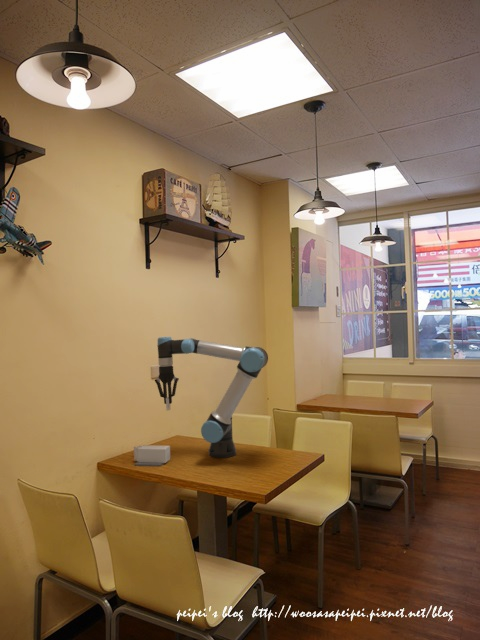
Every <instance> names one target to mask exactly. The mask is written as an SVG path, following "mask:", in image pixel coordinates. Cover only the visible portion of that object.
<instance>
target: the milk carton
mask: <svg viewBox="0 0 480 640" xmlns="http://www.w3.org/2000/svg"><path fill="white" fill-rule="evenodd" d="M170 460H171V445H150V444H149V445H147V444H144V445H143V444H142V445H138V446H133V461H136V462H145V463H164V464H166V463H167V462H169V461H170Z"/></svg>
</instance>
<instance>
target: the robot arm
mask: <svg viewBox="0 0 480 640" xmlns="http://www.w3.org/2000/svg"><path fill="white" fill-rule="evenodd" d="M180 354H181V355H184V354H185V355H187V354H196V355H198V354H200V355H203V356H208V357H215V358H220V359H226V360H232V361H237V362H238V364H237V366H236V369H237V372H236V373H235V375H234V377H233V378H232V380H231V383H230V384H229V385H228V388H227V390H226V391H225V393H224V394H223V397H222V399H221V400H220V402H219V404H218V406H217V407H216V409H215V410H212V411H211V412H210V414H209V416H208V417H207V420H206V421H205V422H203V424H202V426H201V428H200V434H201V436H202V438H203V440H204V441H206V442H207V443H210V445H209V448H208V456H209V457H211V458H214V459H215V458H216V459H224V458H230V457H234V456H236V455H237V448H236V445H235V442H234V439H233V414H234V413H235V411H236V409H237V407H238V405H239V403H240V402H241V400H242V398H243V397H244V395H245V393H246V391H247V389H248V387H249V386H250V384H251V382H252V381H253V380H254V379H257V378H258V376H259V374H260V372H261V371H262V368H265V366H266V365H267V364H268V361H269V355H268V353H267V351H266V350H265V349H264V348H262V347H260V346H254V347H253V346H244V347H242V346H235V345H228V344H224V343H218V342H212V341H208V340H207V341H205V340H200V339H196V338H191V337H190V338H184V339H172V336H163V337H162V336H161V337H160V336H159V337H157V356H158V357H157V358H158V373H159V374H158V377H157V378H156V379H154V382H155V383H156V387H157V389H158V392H159V395H160V397H161V398H163V402H164V403H163V404H165V405H166V406H165V407H166V409H165V410H166V411H170V410H171V404H172V403H173V397H175V396H176V390H177V386H178V385H177V384H178V382H179V377H176V376H175V374H174V366H173V365H174V361H173V360H174V359H173V355H180ZM173 381H174V382H173ZM172 382H173V386H172ZM161 383H162V384H161Z"/></svg>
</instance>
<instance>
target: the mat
mask: <svg viewBox="0 0 480 640" xmlns="http://www.w3.org/2000/svg"><path fill="white" fill-rule="evenodd" d="M163 464H165V463H145V462H138V461H136V462H135V463H134V466H135V467H161V466H163Z"/></svg>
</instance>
